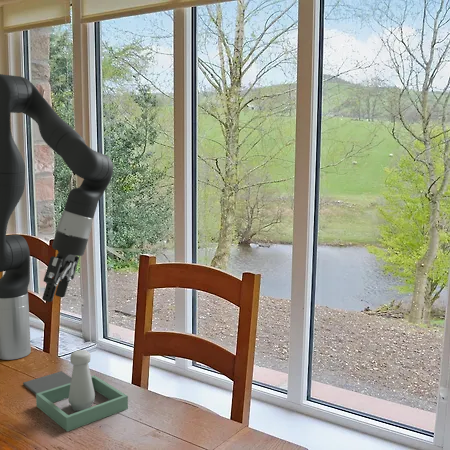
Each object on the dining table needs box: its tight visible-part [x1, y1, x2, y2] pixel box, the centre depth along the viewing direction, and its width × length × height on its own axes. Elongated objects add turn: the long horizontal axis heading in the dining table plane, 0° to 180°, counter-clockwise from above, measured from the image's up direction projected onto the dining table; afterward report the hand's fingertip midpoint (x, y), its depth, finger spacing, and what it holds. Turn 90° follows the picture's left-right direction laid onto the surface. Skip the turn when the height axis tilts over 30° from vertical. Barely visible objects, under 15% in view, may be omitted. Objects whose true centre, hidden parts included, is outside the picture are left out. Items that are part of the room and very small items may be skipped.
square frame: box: [35, 375, 129, 432], centre depth 123 cm, size 15×15×3 cm
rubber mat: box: [22, 370, 72, 396], centre depth 134 cm, size 10×10×1 cm
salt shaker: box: [67, 349, 96, 412], centre depth 122 cm, size 6×6×13 cm
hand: (53, 298), depth 130 cm, fingers open, 8 cm apart
